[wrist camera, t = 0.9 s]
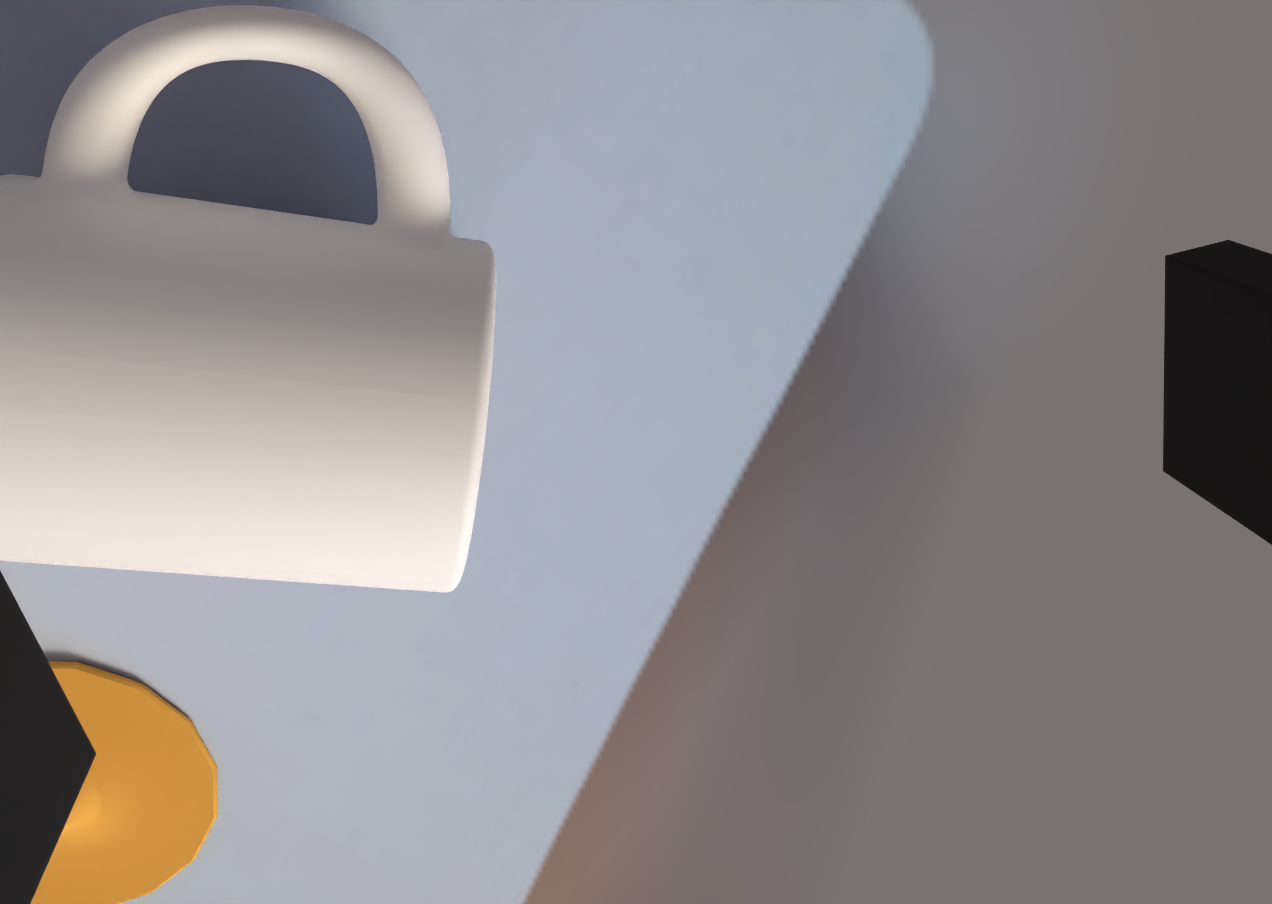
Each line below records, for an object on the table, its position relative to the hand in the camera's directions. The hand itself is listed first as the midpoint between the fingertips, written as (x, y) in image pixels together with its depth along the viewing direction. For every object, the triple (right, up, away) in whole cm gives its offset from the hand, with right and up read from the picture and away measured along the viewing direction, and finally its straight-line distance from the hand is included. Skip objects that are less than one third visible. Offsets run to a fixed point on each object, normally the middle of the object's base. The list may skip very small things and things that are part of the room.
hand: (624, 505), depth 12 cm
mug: (-9, +5, +15) cm, 18 cm away
